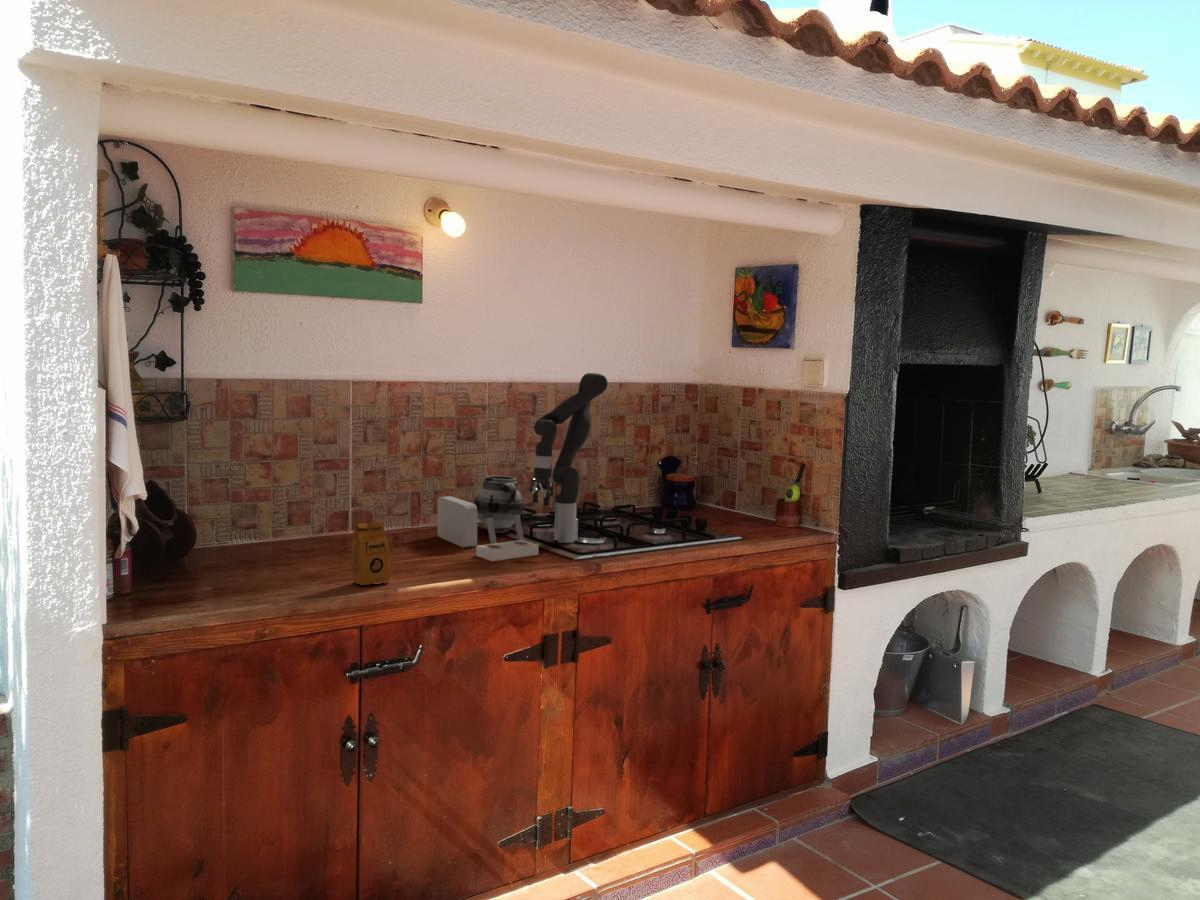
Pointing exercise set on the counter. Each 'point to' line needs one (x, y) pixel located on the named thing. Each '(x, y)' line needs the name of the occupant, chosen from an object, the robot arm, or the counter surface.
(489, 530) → the lever
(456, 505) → the rounded white slab
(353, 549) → the coffee package
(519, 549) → the switch unit
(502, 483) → the ceramic pot
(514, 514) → the lever
